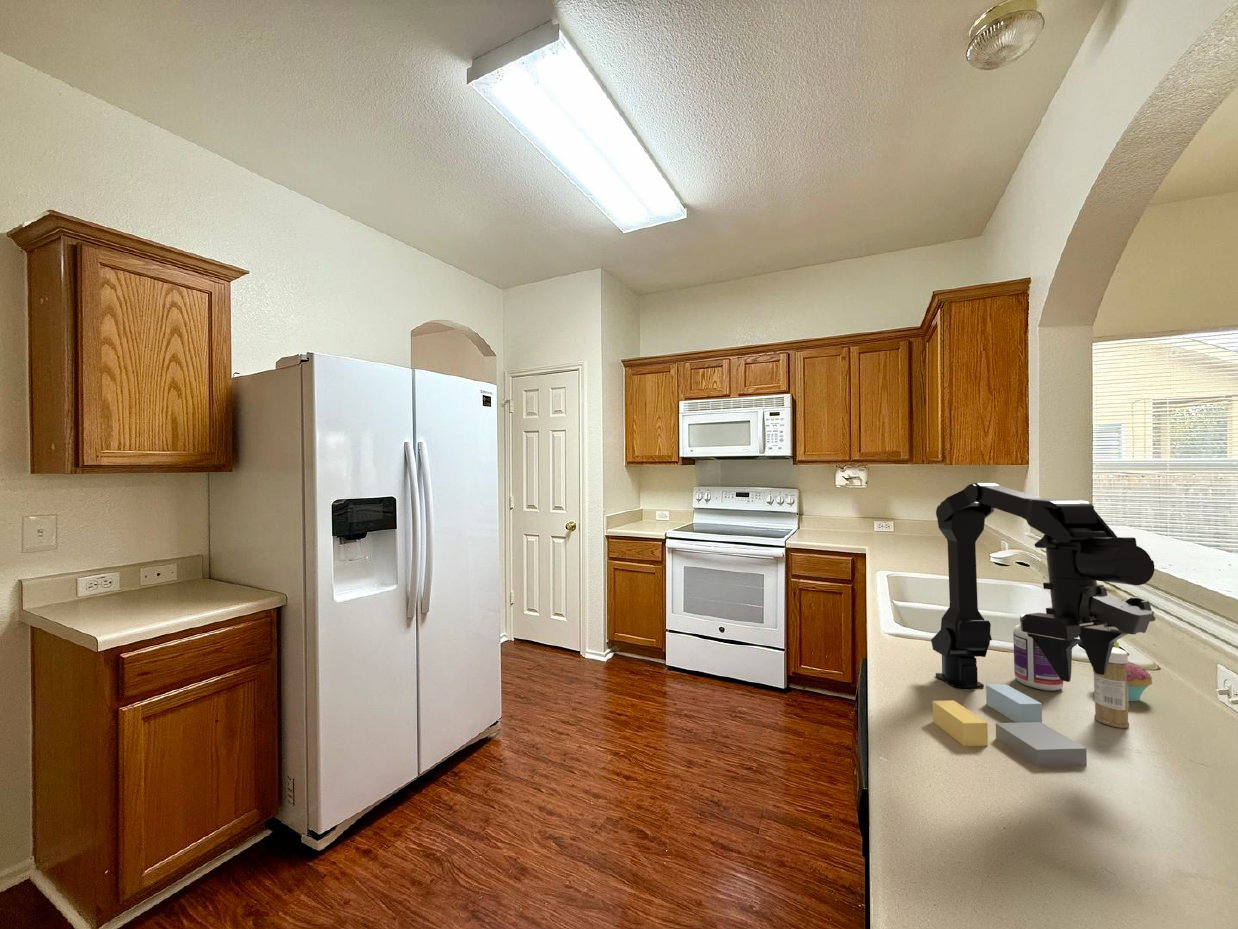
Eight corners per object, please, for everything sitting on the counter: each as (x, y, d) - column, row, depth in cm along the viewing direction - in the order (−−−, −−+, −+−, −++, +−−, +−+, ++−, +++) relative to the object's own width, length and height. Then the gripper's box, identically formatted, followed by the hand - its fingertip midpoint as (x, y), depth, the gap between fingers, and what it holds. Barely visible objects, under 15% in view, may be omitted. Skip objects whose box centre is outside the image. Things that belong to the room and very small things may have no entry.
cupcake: (1142, 709, 94) (1141, 647, 94) (1084, 692, 101) (1083, 634, 101) (1159, 699, 98) (1157, 639, 98) (1102, 683, 105) (1101, 627, 105)
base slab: (995, 740, 84) (995, 723, 84) (1040, 739, 84) (1040, 722, 85) (1037, 769, 76) (1036, 749, 76) (1086, 767, 76) (1086, 748, 77)
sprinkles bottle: (1132, 724, 88) (1130, 649, 89) (1125, 732, 86) (1123, 655, 86) (1097, 714, 92) (1096, 642, 92) (1090, 721, 90) (1088, 647, 90)
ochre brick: (933, 722, 90) (932, 701, 90) (954, 722, 90) (953, 700, 90) (964, 747, 82) (964, 723, 82) (987, 746, 82) (987, 722, 82)
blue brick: (986, 705, 96) (986, 684, 97) (1006, 704, 97) (1005, 684, 97) (1020, 726, 88) (1020, 704, 89) (1042, 725, 89) (1041, 703, 89)
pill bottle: (1068, 686, 104) (1067, 618, 104) (1056, 696, 99) (1055, 625, 100) (1021, 673, 111) (1020, 609, 111) (1008, 682, 106) (1006, 616, 106)
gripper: (1101, 586, 69) (1115, 703, 67) (1172, 580, 75) (1186, 686, 73) (1013, 578, 79) (1023, 679, 77) (1082, 573, 86) (1093, 665, 84)
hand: (1083, 677), depth 78 cm, fingers open, 9 cm apart
